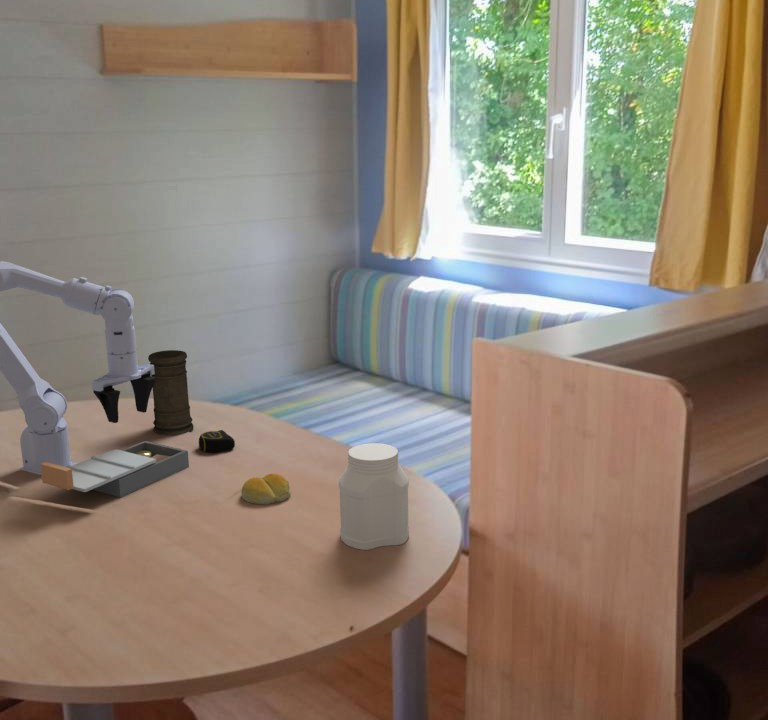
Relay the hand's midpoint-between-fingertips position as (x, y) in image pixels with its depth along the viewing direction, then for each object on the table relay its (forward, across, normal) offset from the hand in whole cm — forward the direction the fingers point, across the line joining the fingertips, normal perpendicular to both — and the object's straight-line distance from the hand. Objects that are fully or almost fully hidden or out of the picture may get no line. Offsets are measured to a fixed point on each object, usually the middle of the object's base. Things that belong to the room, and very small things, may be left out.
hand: (127, 416), depth 189 cm
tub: (+10, -5, -6) cm, 13 cm away
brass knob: (+10, 0, -4) cm, 10 cm away
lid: (+6, -14, -6) cm, 16 cm away
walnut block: (+10, 0, -8) cm, 13 cm away
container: (+11, +20, +8) cm, 24 cm away
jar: (+11, -3, -61) cm, 62 cm away
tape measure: (+11, +16, -9) cm, 21 cm away
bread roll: (+11, +1, -34) cm, 36 cm away
